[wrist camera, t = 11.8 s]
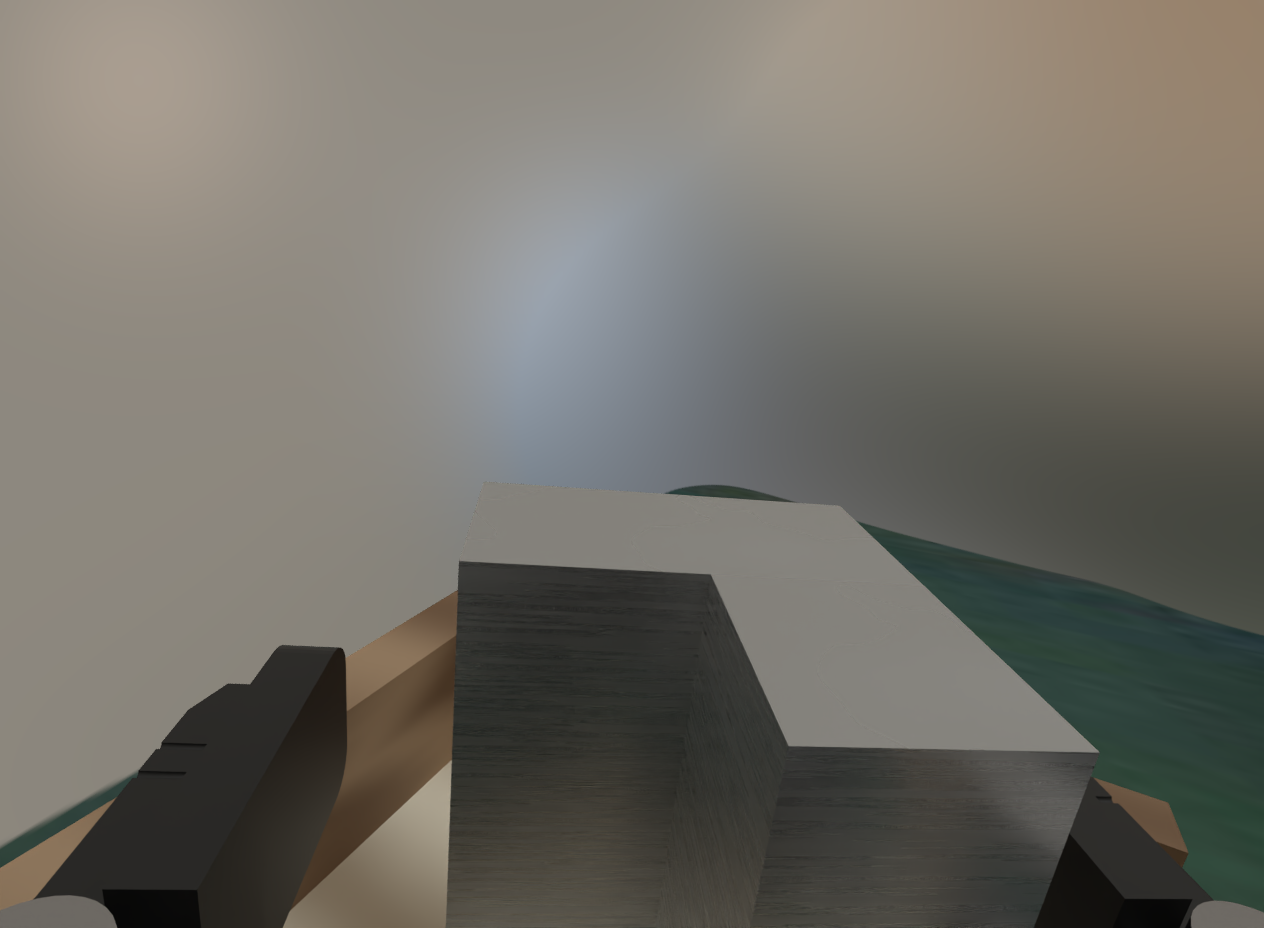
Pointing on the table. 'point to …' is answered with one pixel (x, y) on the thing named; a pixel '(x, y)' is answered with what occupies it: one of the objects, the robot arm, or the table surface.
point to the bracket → (734, 727)
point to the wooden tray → (406, 794)
